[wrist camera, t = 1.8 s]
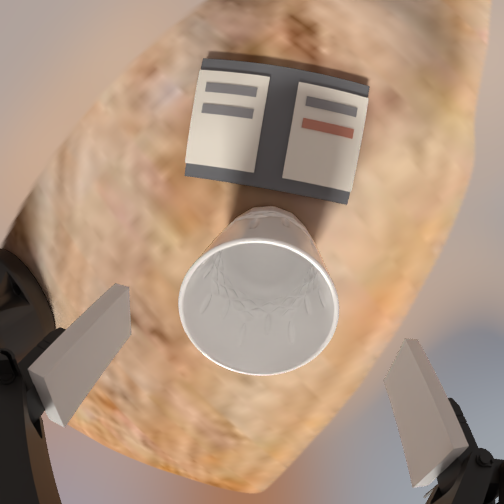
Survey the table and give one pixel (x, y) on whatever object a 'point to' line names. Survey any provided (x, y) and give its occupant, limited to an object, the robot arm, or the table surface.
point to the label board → (276, 128)
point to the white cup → (260, 296)
